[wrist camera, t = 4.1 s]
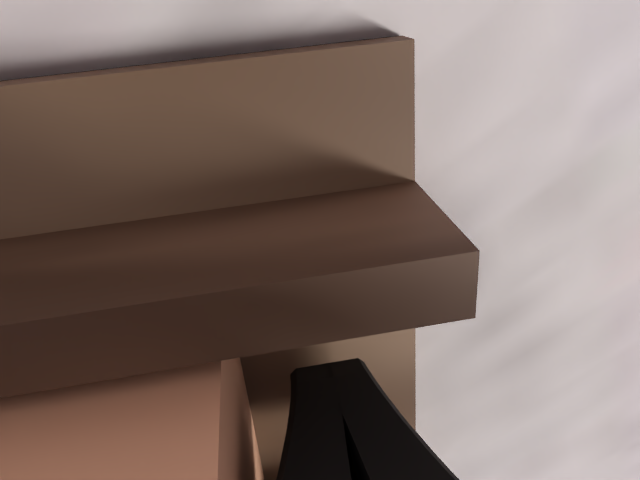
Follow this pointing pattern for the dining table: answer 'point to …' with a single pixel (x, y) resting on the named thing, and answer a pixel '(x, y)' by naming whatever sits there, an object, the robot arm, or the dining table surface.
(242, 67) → the chute
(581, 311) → the dining table surface
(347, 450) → the robot arm
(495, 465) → the dining table surface
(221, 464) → the terracotta block
